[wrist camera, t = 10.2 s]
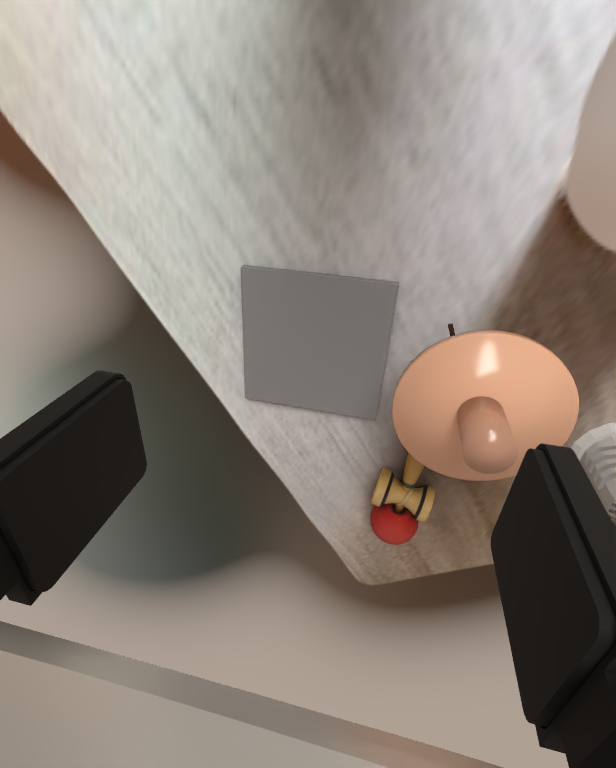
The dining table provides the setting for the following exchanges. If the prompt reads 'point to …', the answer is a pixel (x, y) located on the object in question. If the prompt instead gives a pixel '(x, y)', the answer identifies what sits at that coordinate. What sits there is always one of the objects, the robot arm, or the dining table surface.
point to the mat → (316, 339)
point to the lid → (483, 404)
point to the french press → (600, 462)
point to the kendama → (400, 503)
